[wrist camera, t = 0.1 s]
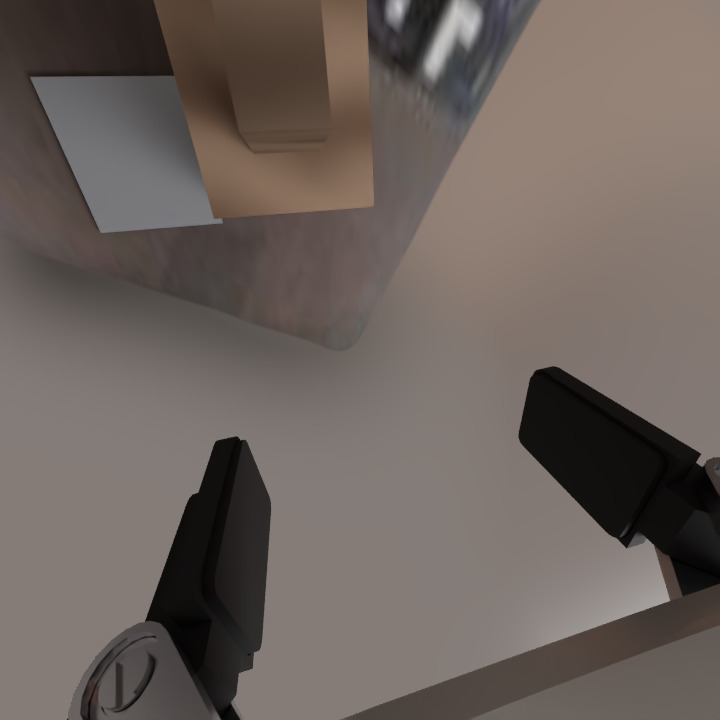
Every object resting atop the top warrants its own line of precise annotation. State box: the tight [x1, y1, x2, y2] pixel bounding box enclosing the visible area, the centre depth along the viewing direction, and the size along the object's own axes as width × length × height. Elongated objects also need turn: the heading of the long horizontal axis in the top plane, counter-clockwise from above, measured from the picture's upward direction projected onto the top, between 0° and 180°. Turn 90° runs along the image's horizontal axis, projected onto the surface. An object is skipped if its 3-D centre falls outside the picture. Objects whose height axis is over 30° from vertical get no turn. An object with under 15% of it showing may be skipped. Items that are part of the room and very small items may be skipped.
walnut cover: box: [154, 0, 374, 219], centre depth 21 cm, size 11×11×22 cm
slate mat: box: [30, 76, 223, 233], centre depth 28 cm, size 12×12×1 cm
